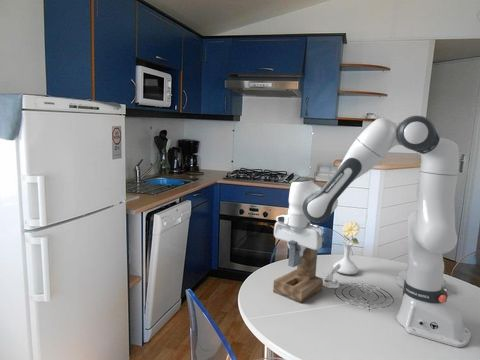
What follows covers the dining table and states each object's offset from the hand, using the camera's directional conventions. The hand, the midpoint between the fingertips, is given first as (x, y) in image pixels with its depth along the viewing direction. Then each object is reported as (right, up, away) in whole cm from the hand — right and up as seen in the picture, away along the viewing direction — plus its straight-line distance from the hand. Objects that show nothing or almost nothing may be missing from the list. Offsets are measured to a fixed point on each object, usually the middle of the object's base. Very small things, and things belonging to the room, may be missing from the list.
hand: (295, 254), depth 144 cm
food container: (+56, -17, +15) cm, 61 cm away
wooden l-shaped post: (+2, -16, +5) cm, 17 cm away
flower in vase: (+27, -14, +26) cm, 40 cm away
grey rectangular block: (0, -4, +1) cm, 4 cm away
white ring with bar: (+17, -15, +13) cm, 26 cm away
